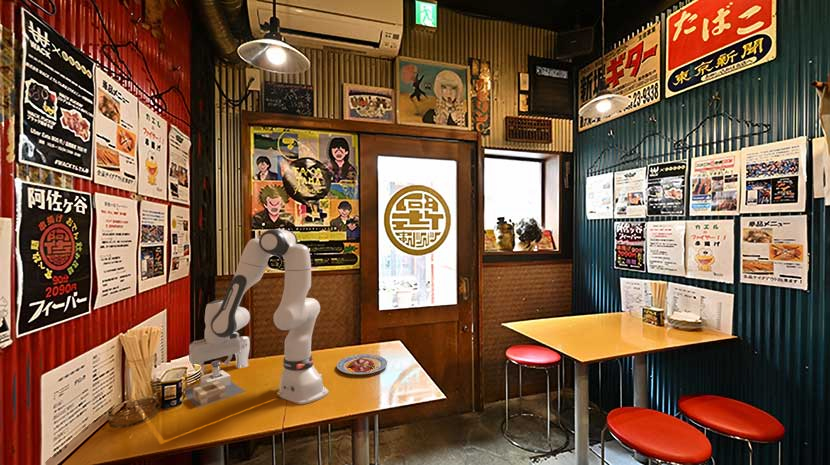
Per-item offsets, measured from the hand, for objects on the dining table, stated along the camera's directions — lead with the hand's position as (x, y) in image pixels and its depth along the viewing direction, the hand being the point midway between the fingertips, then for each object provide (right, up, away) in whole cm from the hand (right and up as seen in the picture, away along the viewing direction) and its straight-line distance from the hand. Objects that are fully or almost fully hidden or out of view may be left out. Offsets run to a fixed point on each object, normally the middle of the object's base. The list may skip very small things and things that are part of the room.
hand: (215, 367), depth 150 cm
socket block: (0, -8, 0) cm, 8 cm away
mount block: (+4, -8, -11) cm, 14 cm away
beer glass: (0, -9, +22) cm, 23 cm away
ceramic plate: (+61, -10, +24) cm, 67 cm away
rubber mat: (+2, -9, -5) cm, 10 cm away
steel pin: (0, -8, 0) cm, 8 cm away
